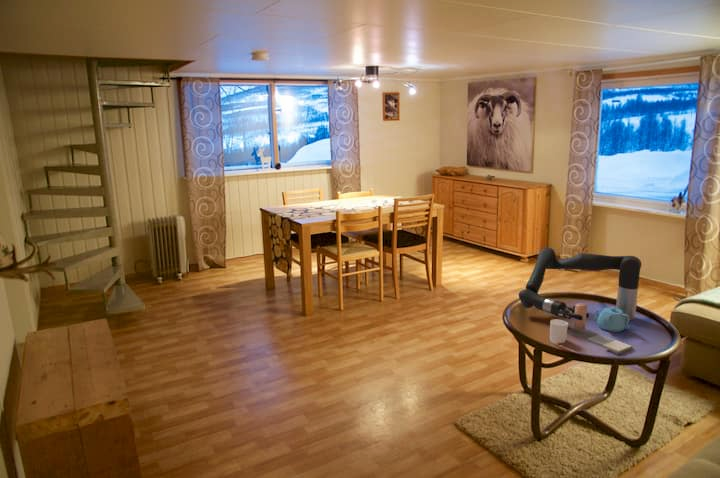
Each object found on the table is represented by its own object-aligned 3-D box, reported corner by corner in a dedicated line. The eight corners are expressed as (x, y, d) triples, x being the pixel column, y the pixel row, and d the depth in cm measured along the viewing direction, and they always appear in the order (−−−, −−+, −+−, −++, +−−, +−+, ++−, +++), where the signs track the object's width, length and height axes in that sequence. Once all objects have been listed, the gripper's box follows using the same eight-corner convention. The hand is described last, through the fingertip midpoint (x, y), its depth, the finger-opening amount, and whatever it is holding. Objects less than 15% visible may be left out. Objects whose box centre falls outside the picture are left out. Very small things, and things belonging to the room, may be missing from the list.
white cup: (566, 340, 240) (568, 320, 237) (565, 346, 233) (567, 326, 230) (549, 337, 243) (551, 318, 241) (547, 343, 236) (549, 324, 234)
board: (579, 328, 253) (579, 325, 253) (632, 349, 230) (633, 345, 230) (563, 333, 247) (563, 330, 247) (617, 355, 224) (617, 351, 224)
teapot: (622, 340, 240) (625, 316, 237) (587, 330, 251) (589, 308, 248) (635, 328, 254) (637, 306, 251) (600, 319, 265) (603, 298, 262)
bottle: (577, 325, 250) (580, 302, 247) (587, 328, 245) (589, 305, 243) (571, 327, 247) (573, 304, 245) (580, 331, 243) (582, 307, 240)
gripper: (561, 311, 261) (592, 321, 248) (545, 317, 253) (576, 327, 239) (562, 297, 259) (594, 306, 246) (546, 303, 251) (577, 313, 238)
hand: (585, 317), depth 243 cm, fingers closed on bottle, 5 cm apart
